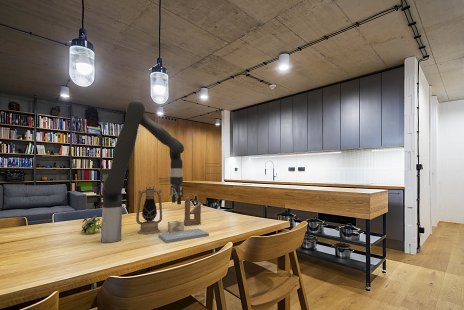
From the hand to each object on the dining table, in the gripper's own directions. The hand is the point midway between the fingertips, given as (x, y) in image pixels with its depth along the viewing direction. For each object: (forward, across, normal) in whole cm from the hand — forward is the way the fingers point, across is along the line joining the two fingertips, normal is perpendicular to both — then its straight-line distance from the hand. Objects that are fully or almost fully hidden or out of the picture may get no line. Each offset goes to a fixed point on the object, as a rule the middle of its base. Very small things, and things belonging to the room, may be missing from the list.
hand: (176, 203), depth 144 cm
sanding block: (+17, 0, 0) cm, 17 cm away
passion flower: (+16, -26, -41) cm, 51 cm away
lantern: (+17, -9, -13) cm, 23 cm away
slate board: (+16, +12, 0) cm, 20 cm away
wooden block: (+17, -12, +16) cm, 26 cm away
